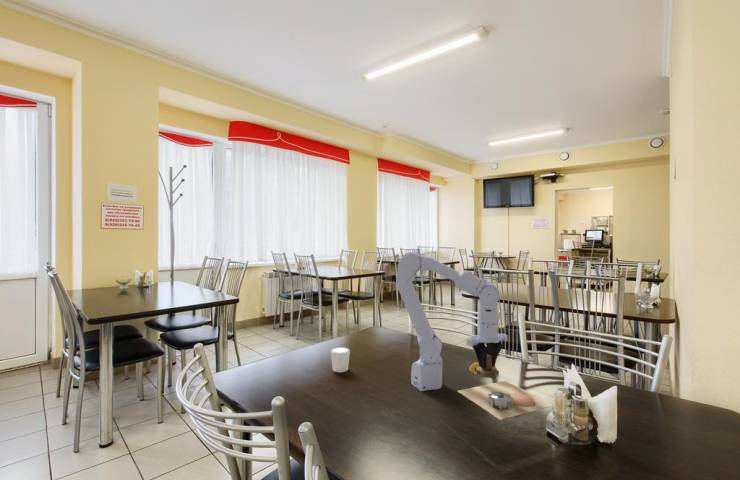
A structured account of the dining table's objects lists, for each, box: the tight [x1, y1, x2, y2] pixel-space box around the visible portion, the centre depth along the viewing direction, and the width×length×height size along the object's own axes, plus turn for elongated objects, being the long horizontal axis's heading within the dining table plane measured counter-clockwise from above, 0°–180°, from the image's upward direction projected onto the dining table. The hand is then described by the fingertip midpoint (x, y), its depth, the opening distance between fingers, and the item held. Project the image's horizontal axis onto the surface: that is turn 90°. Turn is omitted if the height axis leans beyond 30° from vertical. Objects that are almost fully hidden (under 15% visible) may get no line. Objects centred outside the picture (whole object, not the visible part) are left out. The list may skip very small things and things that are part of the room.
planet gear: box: [475, 354, 500, 378], centre depth 108 cm, size 7×7×5 cm
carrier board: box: [457, 380, 554, 421], centre depth 104 cm, size 20×18×1 cm
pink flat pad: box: [510, 393, 534, 407], centre depth 103 cm, size 8×8×1 cm
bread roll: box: [469, 361, 486, 378], centre depth 124 cm, size 8×9×4 cm
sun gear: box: [488, 391, 513, 411], centre depth 100 cm, size 7×7×3 cm
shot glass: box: [330, 346, 351, 373], centre depth 127 cm, size 7×7×7 cm
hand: (486, 366), depth 108 cm, fingers closed on planet gear, 3 cm apart
